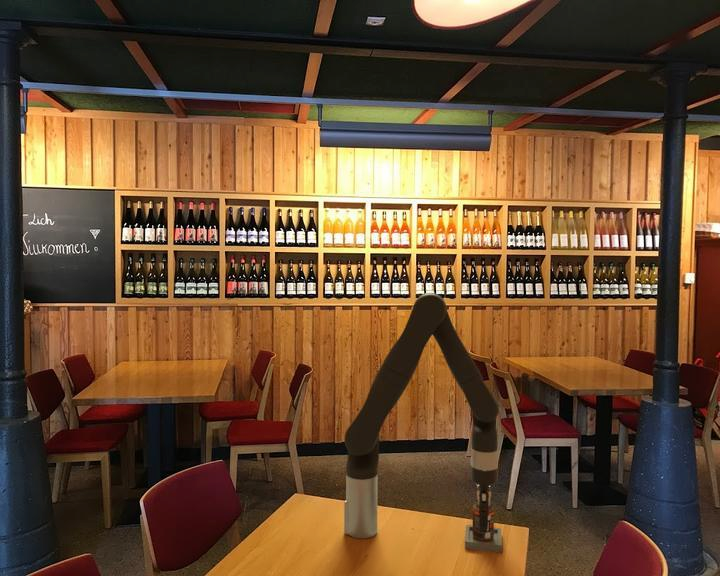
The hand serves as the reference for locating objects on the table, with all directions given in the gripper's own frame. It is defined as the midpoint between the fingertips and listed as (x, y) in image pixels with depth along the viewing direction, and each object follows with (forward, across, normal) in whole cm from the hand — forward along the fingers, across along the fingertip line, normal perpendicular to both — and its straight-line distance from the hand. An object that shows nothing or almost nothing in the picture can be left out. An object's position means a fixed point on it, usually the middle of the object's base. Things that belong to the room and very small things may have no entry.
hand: (483, 520), depth 157 cm
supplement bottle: (+5, 0, 0) cm, 5 cm away
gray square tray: (+6, 0, 0) cm, 6 cm away
